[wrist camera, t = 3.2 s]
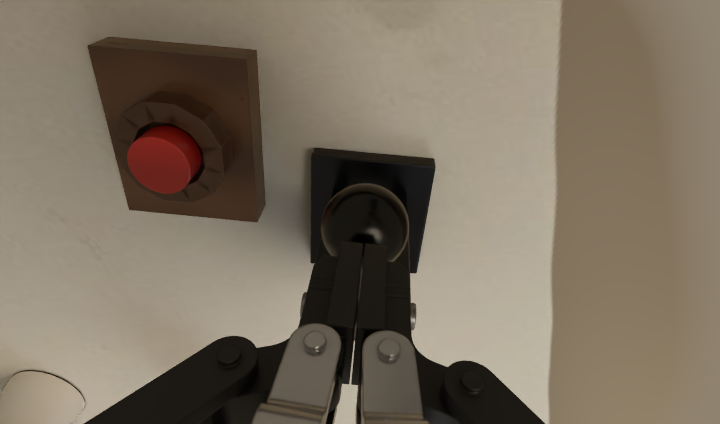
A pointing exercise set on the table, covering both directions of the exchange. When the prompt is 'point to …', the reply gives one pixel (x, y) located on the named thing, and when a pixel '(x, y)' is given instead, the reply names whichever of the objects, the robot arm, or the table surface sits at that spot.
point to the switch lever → (365, 221)
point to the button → (164, 159)
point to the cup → (39, 400)
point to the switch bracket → (388, 171)
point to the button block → (187, 120)
